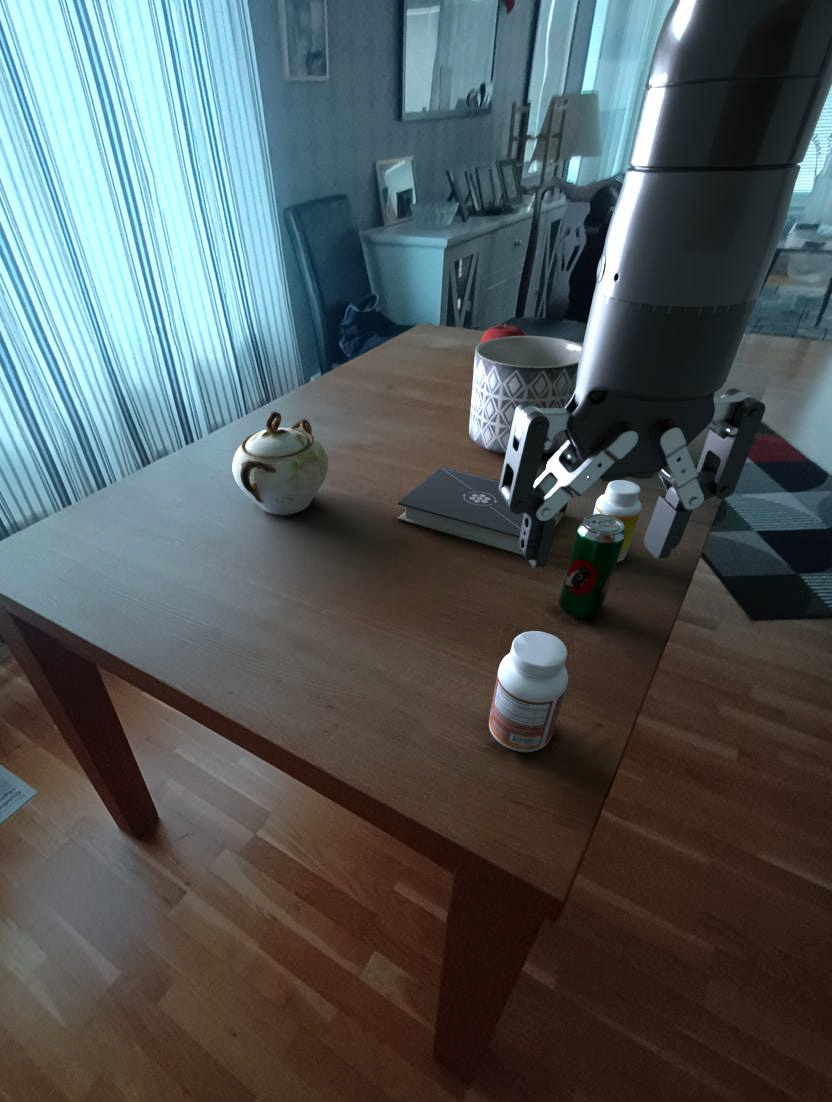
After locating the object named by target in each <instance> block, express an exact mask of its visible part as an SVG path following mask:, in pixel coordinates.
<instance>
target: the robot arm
mask: <svg viewBox="0 0 832 1102" xmlns="http://www.w3.org/2000/svg"><path fill="white" fill-rule="evenodd" d="M831 88H832V0H673V2H672V3H671V5H670V7H669V9H668V10H667V12H666V14H665V17H664V19H663V22H662V25H661V28H660V31H659V33H658V37H657V39H656V42H655V46H654V50H653V53H652V57H651V61H650V64H649V69H648V72H647V76H646V80H645V85H644V90H643V93H642V97H641V101H640V105H639V110H638V117H637V120H636V124H635V129H634V133H633V138H632V143H631V148H630V152H629V156H628V161H627V165H628V166H629V167H627V169H626V170H625V174H624V177H623V182H622V185H621V188H620V191H619V194H618V197H617V199H616V203H615V206H614V208H613V212H612V216H611V217H610V221H609V225H608V228H607V232H606V236H605V241H604V246H603V251H602V254H601V256H600V259H599V261H598V264H597V269H596V283H595V288H594V292H593V296H592V301H591V306H590V309H589V315H588V319H587V324H586V330H585V333H584V338H583V342H582V345H583V347H582V351H581V356H580V360H579V365H578V371H577V382H576V389H575V391H574V394H573V396H572V398H571V399H570V401H569V402H568V404H567V405H566V406H565V408H537V407H536V406H535V405H534V404H533V403H532V402H530V401H524V402H522V403H520V404H519V405H518V406H517V408H516V410H515V414H514V418H513V423H512V428H511V432H510V437H509V442H508V446H507V451H506V454H505V456H504V461H503V466H502V470H501V475H500V484H499V492H500V494H501V496H502V497H503V499H504V500H505V502H506V504H507V505H508V507H509V509H510V510H511V512H513V513H515V514H520V513H524V517H523V522H522V527H521V533H520V538H519V546H520V550H521V551H522V553H523V555H524V556H525V557H524V556H523V557H524V559H525V560H526V561H528V563H529V564H530V566H531V567H532V568H544V567H546V564H547V561H548V556H549V552H550V547H551V543H552V539H553V535H554V531H555V528H554V526H555V522H556V520H555V519H554V518H553V516H554V515H555V514H556V513H557V512H558V511H559V510H560V509H561V508H562V507H563V506H564V505H565V504H566V503H567V502H568V503H569V502H570V500H572V499H573V498H575V497H577V498H579V497H581V496H582V495H584V493H586V492H587V491H588V490H589V489H590V488H591V487H592V486H593V485H594V483H596V482H597V480H600V481H601V482H602V483H604V482H605V483H607V482H612V481H616V480H622V479H626V478H631V479H633V478H634V479H637V480H646V479H652V478H653V477H654V475H655V474H656V473H657V475H658V477H659V479H660V481H661V483H662V485H663V488H664V490H665V491H666V494H664V495H659V496H658V498H657V501H656V504H655V507H654V509H653V512H652V514H651V515H652V516H651V518H650V520H649V523H648V526H647V530H646V532H645V535H644V539H643V545H644V548H645V549H646V550H647V551H648V552H649V553H650V555H652V557H653V558H654V559H664V558H668V557H670V555H671V552H672V550H675V549H676V548H677V547H678V546H679V544H681V541H682V538H683V535H684V534H685V531H686V529H687V526H688V524H689V521H690V519H691V516H692V513H693V511H694V510H695V509H697V508H699V507H700V506H701V505H702V504H703V502H704V501H706V500H709V499H712V498H714V497H715V498H717V499H718V500H725V499H727V498H728V497H729V498H730V496H732V495H733V493H734V492H735V490H736V487H737V485H738V483H739V480H740V478H741V475H742V472H743V470H744V467H745V464H746V462H747V459H748V456H749V454H750V451H751V448H752V447H753V443H754V441H755V438H756V435H757V433H758V431H759V428H760V425H761V422H762V421H763V418H764V415H765V412H766V404H765V403H764V402H761V401H760V400H758V399H757V398H756V397H755V396H752V395H751V394H748V393H746V392H745V391H741V390H740V389H738V388H736V387H731V388H729V389H727V390H726V391H725V392H723V393H722V394H721V396H718V397H715V393H716V392H718V391H719V390H720V389H722V387H724V385H725V383H726V382H727V379H728V377H729V374H730V372H731V370H732V367H733V364H734V362H735V359H736V356H737V354H738V351H739V348H740V345H741V342H742V340H743V338H744V335H745V333H746V330H747V327H748V324H749V322H750V320H751V316H752V315H753V311H754V309H755V306H756V304H757V302H758V299H759V296H760V294H761V291H762V288H763V285H764V283H765V280H766V277H767V276H768V272H769V269H770V266H771V264H772V261H773V259H774V256H775V254H776V251H777V250H778V249H777V248H778V246H779V244H780V241H781V237H782V234H783V232H784V229H785V225H786V222H787V218H788V215H789V211H790V207H791V203H792V198H793V194H794V190H795V187H796V183H797V180H798V176H799V174H800V171H801V168H802V167H801V165H800V164H801V163H803V162H804V161H805V160H804V159H805V157H806V154H807V152H808V150H809V146H810V144H811V141H812V139H813V137H814V134H815V132H816V128H817V125H818V122H819V120H820V118H821V114H822V112H823V109H824V106H825V105H826V101H827V99H828V96H829V93H830V91H831ZM706 428H707V429H708V430H709V431H708V434H707V437H706V438H705V439H706V440H705V443H704V446H703V448H702V452H701V455H700V458H699V461H698V464H697V468H696V466H695V463H694V460H693V459H692V456H691V454H690V451H689V449H688V446H689V445H690V444H691V443H692V442H693V441H694V440H695V439H696V438H697V437H698V436H699V435H700V434H701V433H702V432H704V431H705V430H706ZM561 431H564V432H565V434H566V436H567V438H568V440H567V441H566V442H565V443H564V445H563V446H562V447H561V448H560V449H559V450H557V451H555V453H554V454H553V455H552V456H551V457H550V458H549V459H548V461H547V462H546V463H547V464H546V468H545V470H544V471H543V472H542V473H541V474H540V475H539V477H538V478H537V476H538V473H539V468H540V465H541V460H542V456H543V455H542V453H543V449H545V448H546V449H547V448H550V447H551V445H552V442H553V440H554V438H555V436H556V435H557V434H558V433H559V432H561ZM577 461H579V463H580V466H579V467H578V468H577V469H575V470H574V471H572V468H573V466H574V464H575V463H576V462H577Z"/></svg>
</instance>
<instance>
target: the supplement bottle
mask: <svg viewBox="0 0 832 1102" xmlns="http://www.w3.org/2000/svg"><path fill="white" fill-rule="evenodd" d="M640 493H641V487H640V485H638V484H637V483H636V482H635V483H634V482H633V481H629V480H624V479H623V480H622V479H619V480H616V481H609V483H608V484H607V487H606V489H605V492H604V494H601V495H600V496H599V497H598V498H597V499H596V502H595V505H594V506H595V507H594V509H593V512H592V515H593V514H605V515H610V516H613V517H616V518H618V519H619V520H621V521H622V522H623V524H624V532H625V539H624V542H623V545H622V548H621V551H620V554H619V557H618V560H617V563H620V562H622V561H624V559H626V557H627V554H628V552H629V549H630V545H631V542H632V538H633V535H634V533H635V530H636V526H637V523H638V520H639V518H640V514H641V511H642V507H643V506H642V503H641V500H639V497H640Z"/></svg>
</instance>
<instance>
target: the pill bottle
mask: <svg viewBox="0 0 832 1102" xmlns="http://www.w3.org/2000/svg"><path fill="white" fill-rule="evenodd" d="M567 656H568V649H567V646H566V644H565V643H564V642H563V641H562V640H561V639H560V638H559V637H557V636H555V635H554V634H551V633H549V632H544V631H537V630H532V631H531V630H530V631H524V632H522V633H520V634H518V635H517V636H516V637H515V638H514V639H513V641H512V644H511V648H510V651H509V653H508V654H505V656H504V657H503V658H502V660H501V662H500V664H499V666H498V670H497V675H496V681H495V685H494V692H493V696H492V702H491V706H490V713H489V720H488V728H489V732H490V733H491V735H492V736H493V738H494V739H495V740H496V741H497V742H498V743H499V744H500V745H502V746H503V747H505V748H506V749H510V750H511V751H515V752H520V753H532V752H537V751H539V750H541V749H543V748H544V747H545V746H547V745H548V744H549V742H550V741H551V738H552V736H553V734H554V731H555V727H556V725H557V720H558V718H559V714H560V711H561V707H562V705H563V700H564V698H565V695H566V691H567V688H568V683H569V673H568V670H567V667H566V666H565V665H566V661H567V658H568V657H567Z"/></svg>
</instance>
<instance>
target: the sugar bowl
mask: <svg viewBox="0 0 832 1102" xmlns="http://www.w3.org/2000/svg"><path fill="white" fill-rule="evenodd" d="M281 422H282V415H281V413H280V412H278V411H275V410H273V411H271V412H270V413H269V414H268V416H267V419H266V423H265V428H266V429H263V430H260V431H257V432H255V433H252V434H250V435H249V436H247V437H246V438H244V440H243V441H242V442H241V444H240V446H239V447H238V448H237V450H236V452H235V453H234V456H233V459H232V463H231V464H232V465H231V467H232V469H231V470H232V474H233V477H234V480H235V482H236V484H237V485H238V487H239V488H240V489H241V490H242V492H244V493H245V494H246V496H247V497H249V498H250V499H251V500H252V501H253V502H254V503H256V504H257V505H258V506H259V507H260V508H261V509H262V510H263V511H264V512H267V513H269V514H272V515H278V516H287V515H293V514H296V513H299V512H301V511H303V510H305V509H306V508H307V507H309V506H310V504H311V502H312V501H313V499H314V497H315V496H316V494H317V493H318V492H319V490H320V489H321V488H322V485H323V483H324V481H325V480H326V477H327V474H328V470H329V458H328V454H327V452H326V450H325V448H324V446H323V445H322V444H321V443H320V442H319V441H318V440H317V439H316V438H315V436H314V435H313V429H312V425H311V423H310V421H308V420H307V419H306V418H301V419H299V420H298V421H296V422H295V423H294V424H292V425H291V426H289V427H280V426H281ZM299 428H300V429H299Z"/></svg>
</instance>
